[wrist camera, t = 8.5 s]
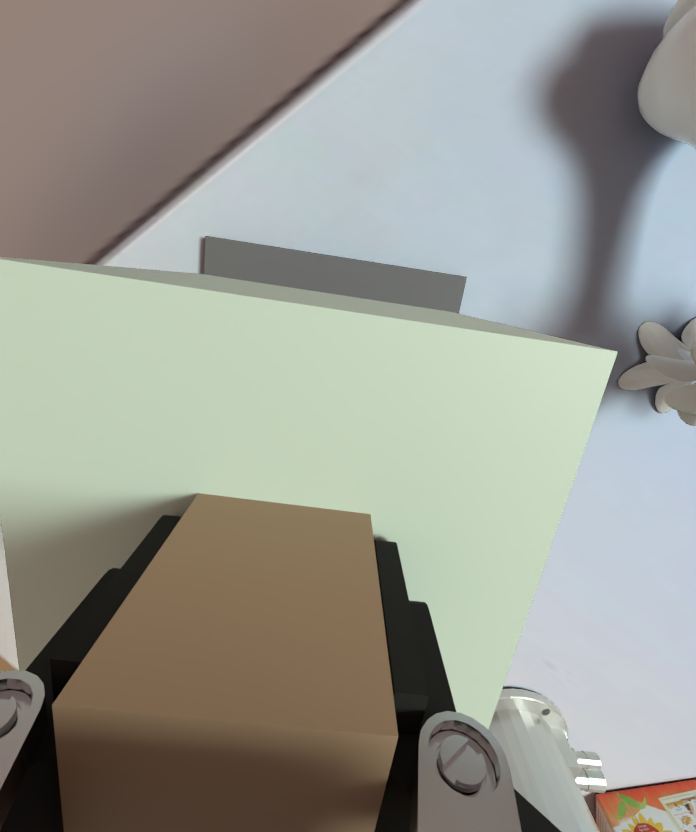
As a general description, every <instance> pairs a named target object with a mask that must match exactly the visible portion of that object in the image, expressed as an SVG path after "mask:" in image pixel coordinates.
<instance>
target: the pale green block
mask: <svg viewBox="0 0 696 832" xmlns="http://www.w3.org/2000/svg"><path fill="white" fill-rule="evenodd" d="M617 353H618V352H617V351H613V350H609V349H605V348H600V347H596V346H592V345H588V344H584V343H579V342H575V341H571V340H567V339H563V338H558V337H554V336H550V335H546V334H542V333H537V332H533V331H529V330H525V329H521V328H517V327H512V326H508V325H504V324H500V323H496V322H491V321H487V320H483V319H479V318H475V317H470V316H466V315H462V314H458V313H454V312H449V311H442V310H435V309H429V308H422V307H416V306H409V305H403V304H396V303H389V302H383V301H376V300H370V299H363V298H356V297H350V296H343V295H337V294H330V293H324V292H317V291H310V290H304V289H297V288H291V287H284V286H277V285H271V284H264V283H258V282H251V281H245V280H238V279H231V278H225V277H218V276H212V275H205V274H195V273H183V272H171V271H159V270H148V269H136V268H124V267H112V266H100V265H88V264H76V263H63V262H52V261H40V260H29V259H16V258H4V257H0V516H1V524H2V532H3V540H4V549H5V557H6V565H7V573H8V582H9V590H10V598H11V606H12V614H13V623H14V631H15V639H16V647H17V655H18V664H19V670H20V671H25V670H26V669H27V668H28V666H29V665H30V664H31V663H32V661H33V660H34V659H35V658H36V657H37V655H38V654H39V653H40V652H41V651H42V649H43V648H44V647H45V646H46V644H47V643H48V642H49V641H50V640H51V638H52V637H53V636H54V635H55V634H56V632H57V631H58V630H59V629H60V627H61V626H62V625H63V624H64V623H65V621H66V620H67V619H68V618H69V617H70V615H71V614H72V613H73V612H74V610H75V609H76V608H77V607H78V606H79V604H80V603H81V602H82V601H83V600H84V598H85V597H86V596H87V595H88V593H89V592H90V591H91V590H92V589H93V587H94V586H95V585H96V584H97V583H98V581H99V580H100V579H101V578H102V576H103V575H104V574H105V573H106V572H107V571H108V570H110V569H112V568H120V569H121V567H122V566H123V565H124V564H125V562H126V561H127V560H128V558H129V557H130V556H131V555H132V553H133V552H134V551H135V549H136V548H137V547H138V546H139V544H140V543H141V542H142V541H143V539H144V538H145V537H146V535H147V534H148V533H149V532H150V530H151V529H152V528H153V526H154V525H155V524H156V523H157V521H158V520H159V519H160V518H161V517H162V516H163V515H170V516H179V517H182V518H181V519H180V521H179V522H178V524H177V525H176V526H175V528H174V529H173V531H172V532H171V534H170V535H169V537H168V538H167V539H166V541H165V542H164V544H163V545H162V547H161V548H160V550H159V551H158V552H157V554H156V555H155V557H154V558H153V560H152V561H151V563H150V564H149V565H148V567H147V568H146V570H145V571H144V573H143V574H142V576H141V577H140V579H139V580H138V581H137V583H136V584H135V586H134V587H133V589H132V590H131V592H130V593H129V594H128V596H127V597H126V599H125V600H124V602H123V603H122V605H121V606H120V607H119V609H118V610H117V612H116V613H115V615H114V616H113V618H112V619H111V620H110V622H109V623H108V625H107V626H106V628H105V629H104V631H103V632H102V633H101V635H100V636H99V638H98V639H97V641H96V642H95V644H94V645H93V646H92V648H91V649H90V651H89V652H88V654H87V655H86V657H85V658H84V660H83V661H82V662H81V664H80V665H79V667H78V668H77V670H76V671H75V673H74V674H73V675H72V677H71V678H70V680H69V681H68V683H67V684H66V686H65V687H64V688H63V690H62V691H61V693H60V694H59V696H58V697H57V699H56V700H55V701H54V703H53V704H52V711H53V721H54V732H55V743H56V753H57V764H58V775H59V785H60V796H61V807H62V817H63V828H64V832H374V831H375V827H376V823H377V819H378V815H379V811H380V807H381V803H382V799H383V795H384V792H385V788H386V784H387V780H388V776H389V772H390V768H391V764H392V760H393V756H394V752H395V748H396V744H397V740H398V729H397V721H396V713H395V705H394V697H393V689H392V681H391V673H390V665H389V657H388V649H387V641H386V633H385V625H384V617H383V609H382V601H381V594H380V586H379V578H378V570H377V562H376V554H375V546H374V540H382V541H390V542H396V543H397V546H398V551H399V556H400V560H401V565H402V570H403V575H404V579H405V584H406V589H407V593H408V598H409V600H410V601H419V602H425V603H426V604H427V606H428V608H429V611H430V615H431V619H432V623H433V626H434V630H435V634H436V638H437V641H438V645H439V649H440V652H441V656H442V660H443V664H444V667H445V671H446V675H447V679H448V682H449V686H450V690H451V694H452V697H453V701H454V705H455V708H456V712H459V713H462V714H464V715H467V716H469V717H472V718H474V719H475V720H476V721H478V722H479V723H480V724H482V725H483V726H485V727H486V728H487V729H489V726H490V723H491V721H492V718H493V715H494V712H495V709H496V706H497V703H498V700H499V697H500V694H501V691H502V688H503V686H504V683H505V680H506V677H507V674H508V671H509V668H510V665H511V662H512V659H513V656H514V653H515V651H516V648H517V645H518V642H519V639H520V636H521V633H522V630H523V627H524V624H525V621H526V618H527V615H528V613H529V610H530V607H531V604H532V601H533V598H534V595H535V592H536V589H537V586H538V583H539V580H540V578H541V575H542V572H543V569H544V566H545V563H546V560H547V557H548V554H549V551H550V548H551V545H552V543H553V540H554V537H555V534H556V531H557V528H558V525H559V522H560V519H561V516H562V513H563V510H564V508H565V505H566V502H567V499H568V496H569V493H570V490H571V487H572V484H573V481H574V478H575V475H576V472H577V470H578V467H579V464H580V461H581V458H582V455H583V452H584V449H585V446H586V443H587V440H588V437H589V435H590V432H591V429H592V426H593V423H594V420H595V417H596V414H597V411H598V408H599V405H600V402H601V400H602V397H603V394H604V391H605V388H606V385H607V382H608V379H609V376H610V373H611V370H612V367H613V364H614V362H615V359H616V356H617Z"/></svg>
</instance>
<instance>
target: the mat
mask: <svg viewBox="0 0 696 832" xmlns="http://www.w3.org/2000/svg"><path fill="white" fill-rule="evenodd" d="M204 274H205V275H212V276H218V277H225V278H231V279H238V280H245V281H251V282H258V283H264V284H271V285H277V286H284V287H291V288H297V289H304V290H310V291H317V292H324V293H330V294H337V295H343V296H350V297H356V298H363V299H370V300H376V301H383V302H389V303H396V304H403V305H409V306H416V307H422V308H429V309H435V310H442V311H449V312H454V313H458V314H459V310H460V305H461V301H462V296H463V292H464V287H465V283H466V278H467V277H464V276H458V275H451V274H445V273H439V272H432V271H426V270H420V269H413V268H407V267H400V266H394V265H388V264H381V263H375V262H369V261H362V260H356V259H349V258H343V257H337V256H330V255H324V254H318V253H311V252H305V251H299V250H292V249H286V248H279V247H273V246H267V245H260V244H254V243H248V242H241V241H235V240H228V239H222V238H216V237H209V236H205V260H204Z"/></svg>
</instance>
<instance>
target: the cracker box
mask: <svg viewBox="0 0 696 832" xmlns="http://www.w3.org/2000/svg"><path fill="white" fill-rule="evenodd" d="M596 825H597V827H598V829H599V831H600V832H696V779H695V780H688V781H681V782H674V783H668V784H661V785H655V786H648V787H641V788H635V789H628V790H621V791H614V792H607V793H600V794H597V795H596Z"/></svg>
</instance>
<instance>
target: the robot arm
mask: <svg viewBox="0 0 696 832" xmlns="http://www.w3.org/2000/svg"><path fill="white" fill-rule="evenodd" d="M181 518H182V517H179V516H170V515H163V516H162V517H161V518H160V519H159V520H158V521H157V523H156V524H155V525H154V526H153V528H152V529H151V530H150V532H149V533H148V534H147V535H146V537H145V538H144V539H143V541H142V542H141V543H140V544H139V546H138V547H137V548H136V549H135V551H134V552H133V553H132V555H131V556H130V557H129V558H128V560H127V561H126V562H125V564H124V565H123V566H122V567H121V569H120V568H112V569H110V570H108V571H107V572H106V573H105V574H104V575H103V576H102V578H101V579H100V580H99V581H98V583H97V584H96V585H95V586H94V587H93V589H92V590H91V591H90V592H89V593H88V595H87V596H86V597H85V598H84V600H83V601H82V602H81V603H80V604H79V606H78V607H77V608H76V609H75V610H74V612H73V613H72V614H71V615H70V617H69V618H68V619H67V620H66V621H65V623H64V624H63V625H62V626H61V627H60V629H59V630H58V631H57V632H56V634H55V635H54V636H53V637H52V638H51V640H50V641H49V642H48V643H47V644H46V646H45V647H44V648H43V649H42V651H41V652H40V653H39V654H38V655H37V657H36V658H35V659H34V660H33V661H32V663H31V664H30V665H29V666H28V668H27V669H26V670H25V671H20V670H9V671H4V672H0V832H64V828H63V817H62V807H61V796H60V785H59V775H58V764H57V753H56V743H55V732H54V721H53V711H52V704H53V703H54V701H55V700H56V699H57V697H58V696H59V694H60V693H61V691H62V690H63V688H64V687H65V686H66V684H67V683H68V681H69V680H70V678H71V677H72V675H73V674H74V673H75V671H76V670H77V668H78V667H79V665H80V664H81V662H82V661H83V660H84V658H85V657H86V655H87V654H88V652H89V651H90V649H91V648H92V646H93V645H94V644H95V642H96V641H97V639H98V638H99V636H100V635H101V633H102V632H103V631H104V629H105V628H106V626H107V625H108V623H109V622H110V620H111V619H112V618H113V616H114V615H115V613H116V612H117V610H118V609H119V607H120V606H121V605H122V603H123V602H124V600H125V599H126V597H127V596H128V594H129V593H130V592H131V590H132V589H133V587H134V586H135V584H136V583H137V581H138V580H139V579H140V577H141V576H142V574H143V573H144V571H145V570H146V568H147V567H148V565H149V564H150V563H151V561H152V560H153V558H154V557H155V555H156V554H157V552H158V551H159V550H160V548H161V547H162V545H163V544H164V542H165V541H166V539H167V538H168V537H169V535H170V534H171V532H172V531H173V529H174V528H175V526H176V525H177V524H178V522H179V521H180V519H181ZM374 546H375V554H376V562H377V570H378V578H379V586H380V594H381V601H382V609H383V617H384V625H385V633H386V641H387V649H388V657H389V665H390V673H391V681H392V689H393V697H394V705H395V713H396V721H397V729H398V740H397V744H396V748H395V752H394V756H393V760H392V764H391V768H390V772H389V776H388V780H387V784H386V788H385V792H384V795H383V799H382V803H381V807H380V811H379V815H378V819H377V823H376V827H375V831H374V832H600V831H599V829H598V827H597V825H596V823H595V821H594V818H593V816H592V814H591V812H590V810H589V808H588V806H587V804H586V801H585V799H584V797H583V795H582V793H581V791H580V790H584V791H586V792H597V793H605V791H606V780H605V777H604V775H603V773H602V771H601V770H600V769H601V761H600V759H599V756H598V755H597V754H596V753H595V752H587V751H581V752H578V751H575V750H574V749H573V748H571V747H570V745H569V743H568V728H567V725H566V722H565V720H564V718H563V716H562V715H561V713H560V711H559V709H558V708H557V707H556V706H555V705H554V703H552V702H551V701H550V700H548V699H547V698H546V697H544V696H542V695H540V694H537V693H535V692H531V691H527V690H523V689H513V688H511V689H502V691H501V694H500V697H499V700H498V703H497V706H496V709H495V712H494V715H493V718H492V721H491V723H490V726H489V729H487V728H486V727H485V726H483V725H482V724H480V723H479V722H478V721H476V720H475V719H474V718H472V717H469V716H467V715H464V714H462V713H459V712H456V708H455V705H454V701H453V697H452V694H451V690H450V686H449V682H448V679H447V675H446V671H445V667H444V664H443V660H442V656H441V652H440V649H439V645H438V641H437V638H436V634H435V630H434V626H433V623H432V619H431V615H430V611H429V608H428V606H427V604H426V603H425V602H419V601H410V600H409V598H408V593H407V589H406V584H405V579H404V575H403V570H402V565H401V560H400V556H399V551H398V546H397V543H396V542H390V541H382V540H374Z"/></svg>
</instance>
